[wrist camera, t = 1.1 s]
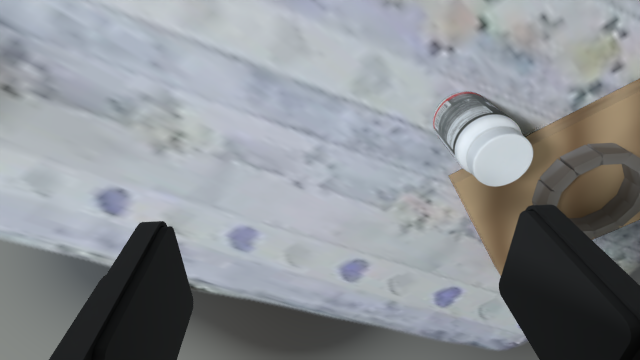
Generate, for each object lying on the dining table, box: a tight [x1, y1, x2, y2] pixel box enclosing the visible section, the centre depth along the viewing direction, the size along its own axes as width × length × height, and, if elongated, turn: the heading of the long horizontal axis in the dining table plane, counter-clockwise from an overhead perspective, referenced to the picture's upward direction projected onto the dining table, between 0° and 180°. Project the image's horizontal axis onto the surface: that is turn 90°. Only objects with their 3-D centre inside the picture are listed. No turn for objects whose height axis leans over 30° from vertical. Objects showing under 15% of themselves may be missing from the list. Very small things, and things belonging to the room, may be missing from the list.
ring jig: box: [449, 79, 640, 275], centre depth 34 cm, size 20×14×4 cm
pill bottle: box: [433, 91, 533, 187], centre depth 28 cm, size 5×5×8 cm
